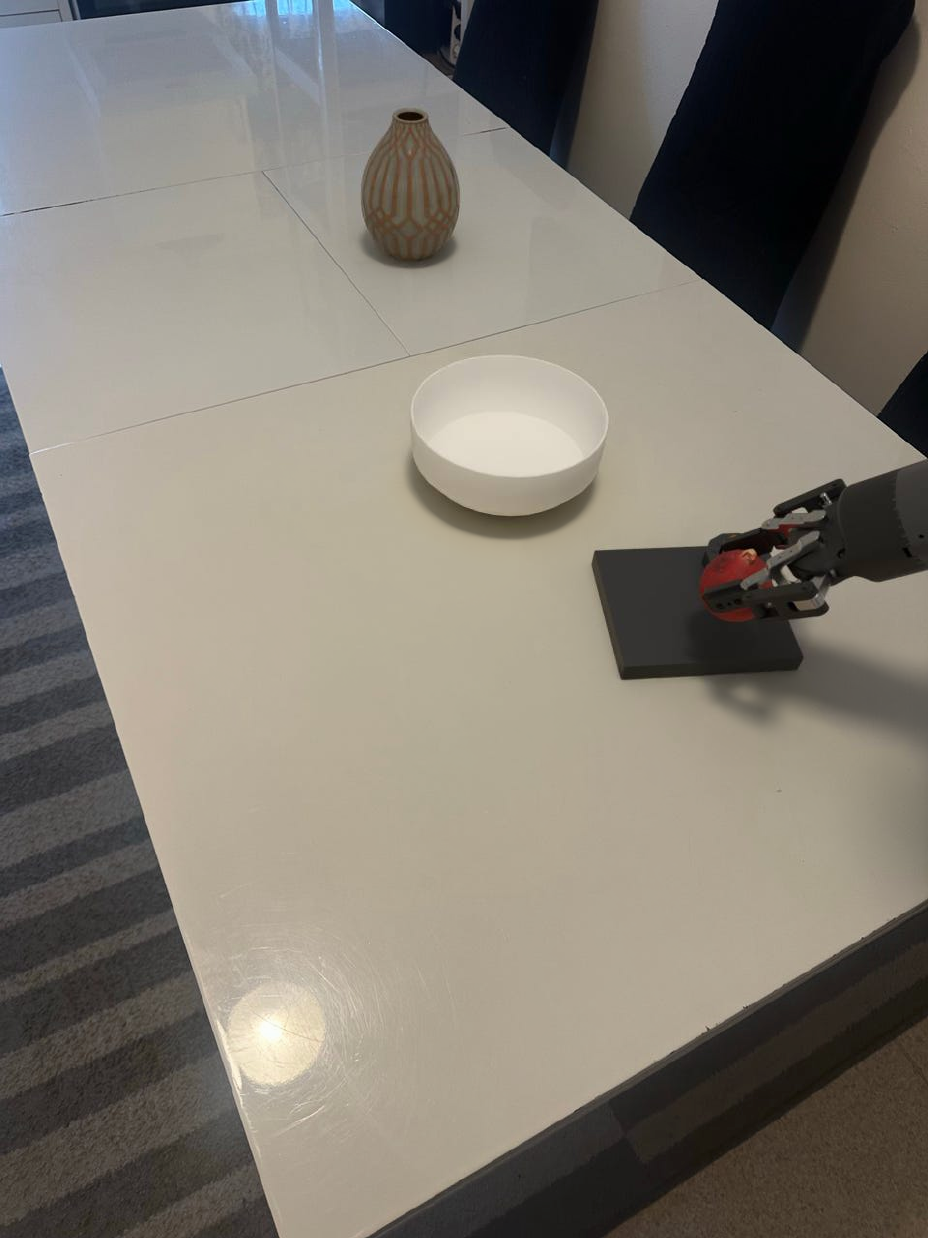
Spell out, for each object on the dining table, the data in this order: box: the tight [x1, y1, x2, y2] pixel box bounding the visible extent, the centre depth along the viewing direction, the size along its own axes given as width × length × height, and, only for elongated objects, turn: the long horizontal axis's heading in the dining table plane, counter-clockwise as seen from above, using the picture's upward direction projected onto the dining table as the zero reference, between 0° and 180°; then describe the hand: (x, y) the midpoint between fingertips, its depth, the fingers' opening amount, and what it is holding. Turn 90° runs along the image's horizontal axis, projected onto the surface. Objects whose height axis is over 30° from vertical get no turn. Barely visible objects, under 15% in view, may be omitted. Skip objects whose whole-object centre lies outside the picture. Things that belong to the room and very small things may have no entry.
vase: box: [360, 107, 461, 262], centre depth 120 cm, size 13×13×18 cm
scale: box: [591, 532, 805, 680], centre depth 84 cm, size 16×14×4 cm
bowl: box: [409, 354, 610, 517], centre depth 93 cm, size 20×20×8 cm
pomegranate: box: [699, 549, 774, 622], centre depth 76 cm, size 6×6×8 cm
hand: (718, 576), depth 77 cm, fingers closed on pomegranate, 5 cm apart
